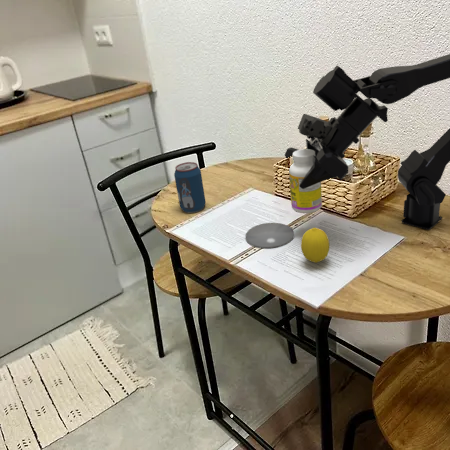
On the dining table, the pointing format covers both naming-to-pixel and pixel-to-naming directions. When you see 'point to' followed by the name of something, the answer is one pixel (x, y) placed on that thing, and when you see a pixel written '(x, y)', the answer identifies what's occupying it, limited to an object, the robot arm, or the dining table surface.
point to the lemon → (315, 245)
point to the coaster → (269, 235)
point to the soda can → (189, 187)
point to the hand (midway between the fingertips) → (298, 181)
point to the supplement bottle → (306, 197)
